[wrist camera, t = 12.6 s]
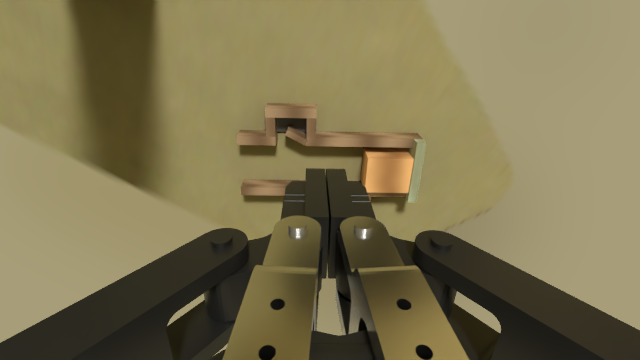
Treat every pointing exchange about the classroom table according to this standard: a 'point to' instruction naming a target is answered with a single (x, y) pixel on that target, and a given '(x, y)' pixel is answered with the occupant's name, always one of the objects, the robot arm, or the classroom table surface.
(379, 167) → the block
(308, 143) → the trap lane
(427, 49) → the classroom table surface
